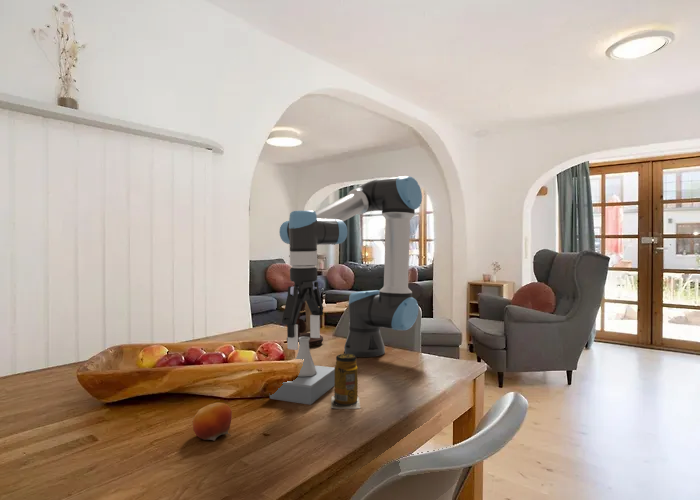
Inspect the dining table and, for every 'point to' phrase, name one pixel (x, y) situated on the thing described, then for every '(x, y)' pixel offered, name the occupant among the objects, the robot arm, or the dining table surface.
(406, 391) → the dining table surface
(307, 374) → the flask
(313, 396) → the slate box
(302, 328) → the brown sculpture on stand
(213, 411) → the fruit
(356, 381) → the condiment
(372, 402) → the dining table surface
